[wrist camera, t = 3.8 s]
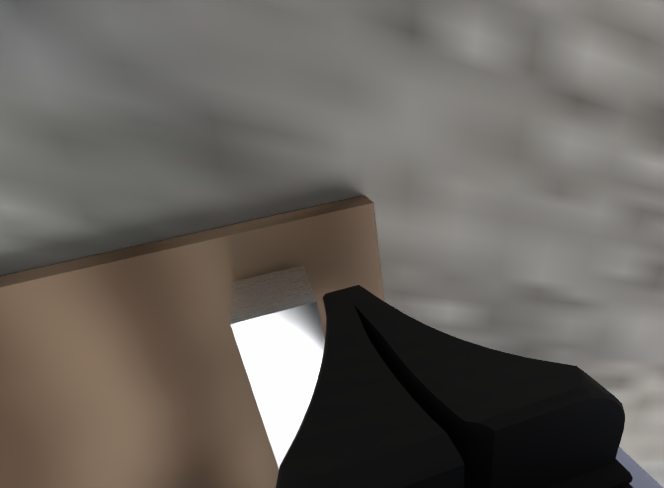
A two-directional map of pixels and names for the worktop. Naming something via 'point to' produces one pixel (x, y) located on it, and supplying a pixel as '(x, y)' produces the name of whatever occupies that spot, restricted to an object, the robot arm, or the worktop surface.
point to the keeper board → (157, 353)
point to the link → (279, 348)
